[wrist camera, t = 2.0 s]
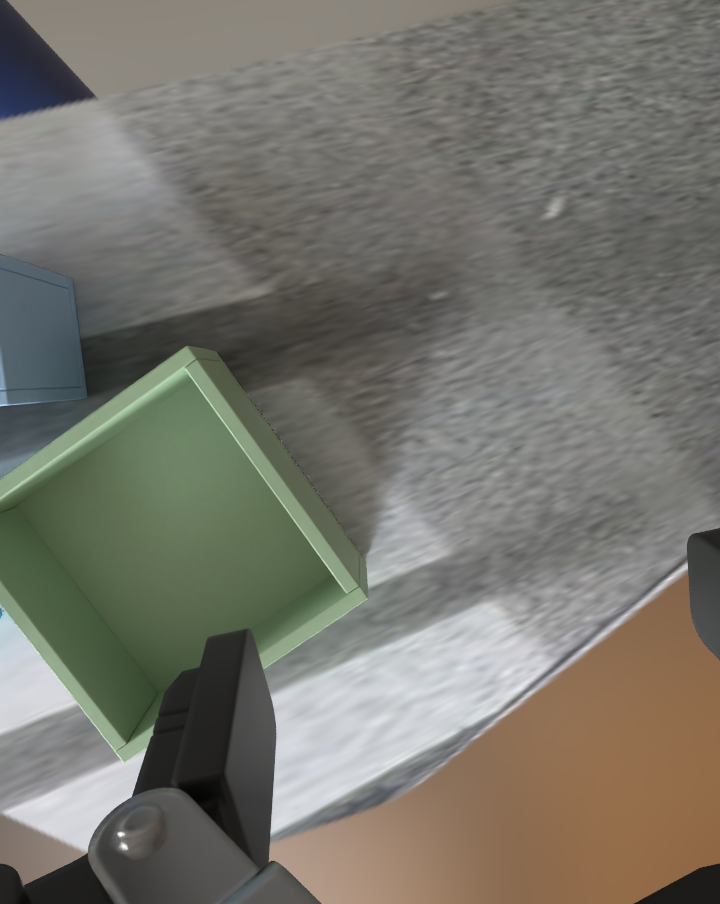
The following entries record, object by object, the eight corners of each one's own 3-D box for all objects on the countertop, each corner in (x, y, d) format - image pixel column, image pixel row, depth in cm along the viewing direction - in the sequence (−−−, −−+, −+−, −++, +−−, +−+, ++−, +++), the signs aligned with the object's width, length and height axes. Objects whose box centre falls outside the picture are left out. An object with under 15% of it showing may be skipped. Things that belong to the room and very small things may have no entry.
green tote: (4, 499, 35) (-64, 524, 30) (215, 349, 35) (186, 344, 29) (160, 703, 37) (123, 764, 31) (367, 562, 36) (368, 598, 30)
